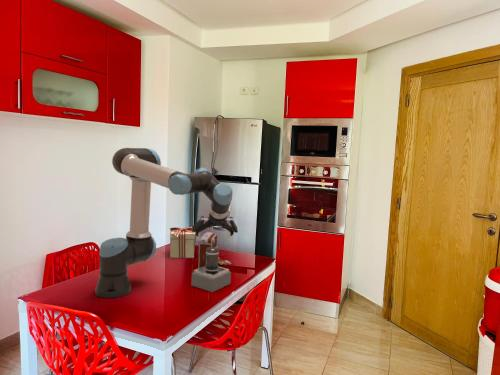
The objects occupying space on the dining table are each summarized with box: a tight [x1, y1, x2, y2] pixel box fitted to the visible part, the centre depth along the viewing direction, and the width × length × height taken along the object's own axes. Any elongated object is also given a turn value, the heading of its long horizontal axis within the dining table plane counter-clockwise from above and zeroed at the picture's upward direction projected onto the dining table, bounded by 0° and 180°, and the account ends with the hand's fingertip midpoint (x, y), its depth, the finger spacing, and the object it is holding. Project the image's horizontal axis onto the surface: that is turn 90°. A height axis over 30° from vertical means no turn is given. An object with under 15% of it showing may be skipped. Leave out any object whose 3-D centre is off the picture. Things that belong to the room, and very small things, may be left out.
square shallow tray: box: [190, 270, 232, 293], centre depth 182 cm, size 14×13×6 cm
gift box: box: [169, 226, 196, 259], centre depth 228 cm, size 17×18×17 cm
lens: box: [205, 247, 220, 275], centre depth 181 cm, size 6×6×12 cm
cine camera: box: [197, 231, 219, 269], centre depth 203 cm, size 9×19×20 cm, turn 174°
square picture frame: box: [193, 266, 230, 279], centre depth 181 cm, size 12×12×2 cm
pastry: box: [218, 257, 232, 266], centre depth 215 cm, size 7×12×4 cm, turn 124°
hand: (213, 238), depth 172 cm, fingers open, 13 cm apart
